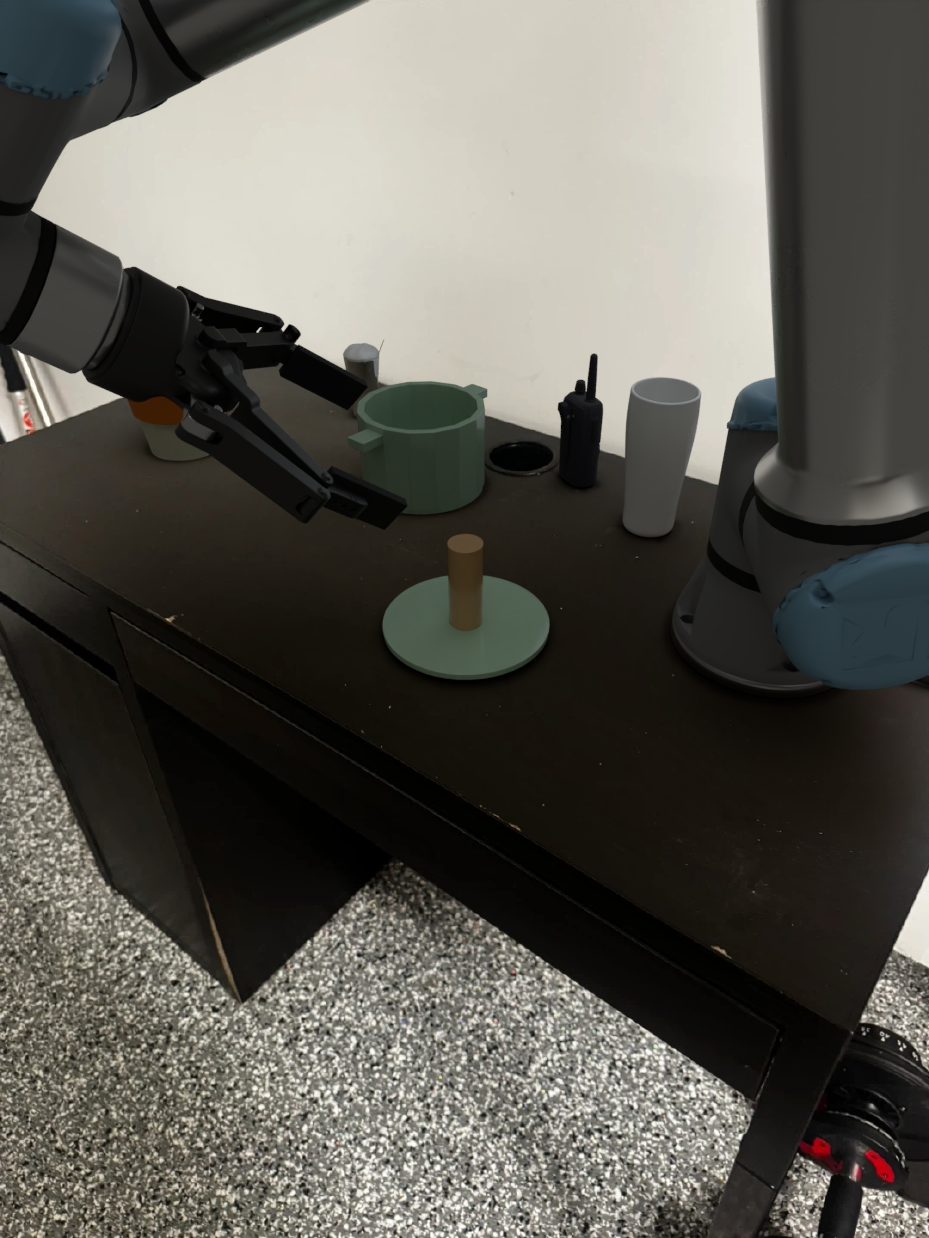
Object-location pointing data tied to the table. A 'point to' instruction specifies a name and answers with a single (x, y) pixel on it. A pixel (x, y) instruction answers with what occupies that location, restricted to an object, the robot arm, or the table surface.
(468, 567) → the lid
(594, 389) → the two-way radio
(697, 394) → the drinking glass
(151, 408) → the reusable coffee cup
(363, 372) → the milkshake
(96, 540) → the table surface
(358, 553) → the table surface
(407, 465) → the pot
